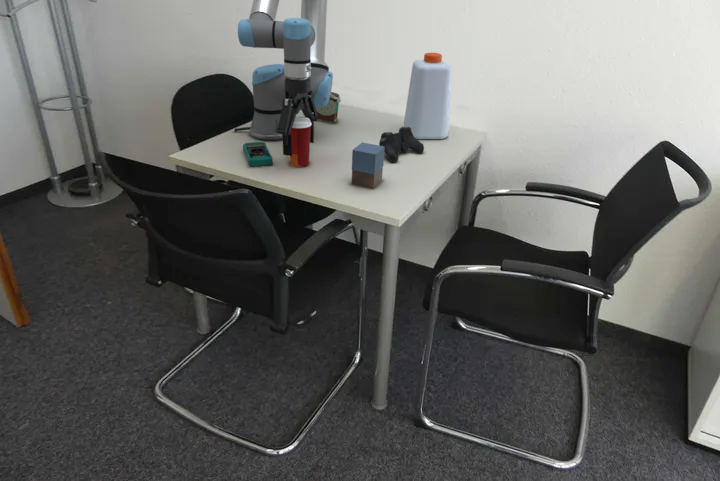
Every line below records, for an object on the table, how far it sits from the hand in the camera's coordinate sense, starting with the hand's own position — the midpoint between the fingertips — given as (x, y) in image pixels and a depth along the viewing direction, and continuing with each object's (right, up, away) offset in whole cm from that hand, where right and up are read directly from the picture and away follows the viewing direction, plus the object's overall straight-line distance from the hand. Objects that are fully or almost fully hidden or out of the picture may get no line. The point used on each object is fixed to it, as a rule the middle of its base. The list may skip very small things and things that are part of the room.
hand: (299, 148), depth 160 cm
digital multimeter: (-14, -2, +6) cm, 15 cm away
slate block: (+21, -7, -10) cm, 24 cm away
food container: (+7, +19, +43) cm, 47 cm away
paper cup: (0, -4, +3) cm, 5 cm away
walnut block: (+21, -11, -7) cm, 25 cm away
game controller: (+32, 0, +13) cm, 34 cm away
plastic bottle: (+43, +11, +33) cm, 55 cm away
